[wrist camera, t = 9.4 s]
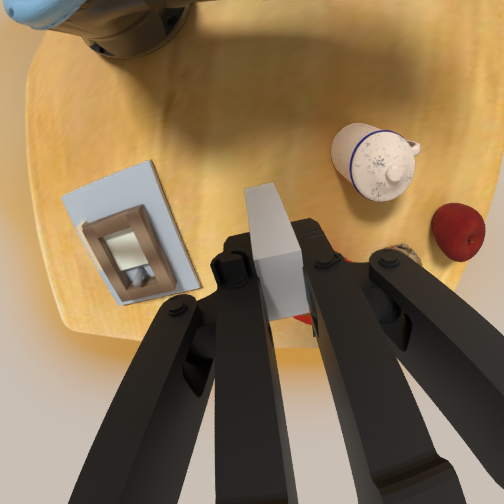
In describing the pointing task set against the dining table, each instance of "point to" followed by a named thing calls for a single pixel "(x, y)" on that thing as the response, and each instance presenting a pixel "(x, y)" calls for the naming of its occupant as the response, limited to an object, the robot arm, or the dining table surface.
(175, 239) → the wall panel
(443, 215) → the apple
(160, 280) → the walnut frame
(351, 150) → the teacup with lid
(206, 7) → the dining table surface
